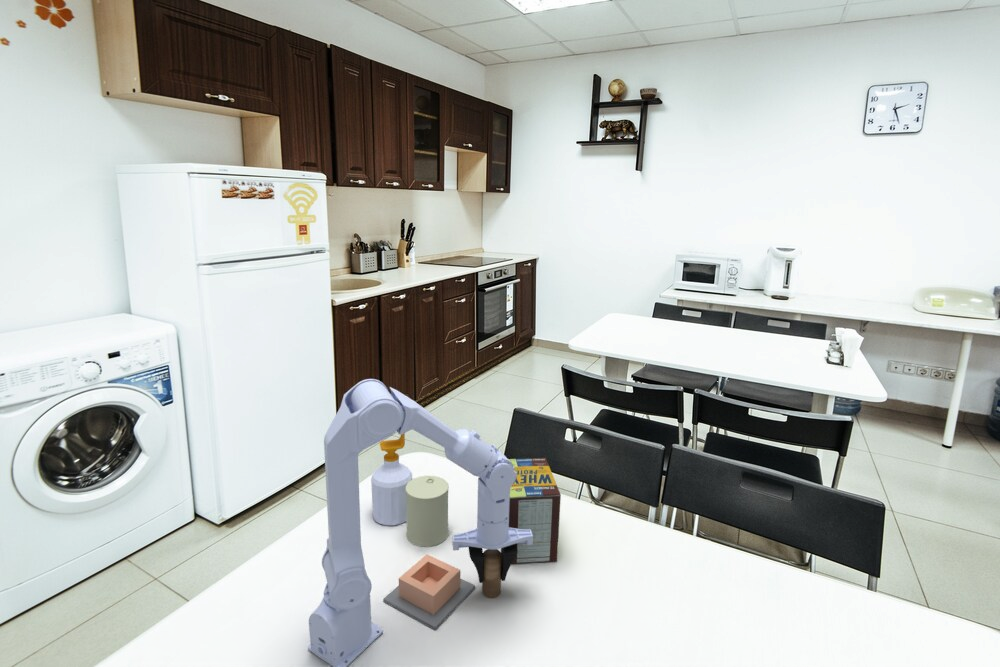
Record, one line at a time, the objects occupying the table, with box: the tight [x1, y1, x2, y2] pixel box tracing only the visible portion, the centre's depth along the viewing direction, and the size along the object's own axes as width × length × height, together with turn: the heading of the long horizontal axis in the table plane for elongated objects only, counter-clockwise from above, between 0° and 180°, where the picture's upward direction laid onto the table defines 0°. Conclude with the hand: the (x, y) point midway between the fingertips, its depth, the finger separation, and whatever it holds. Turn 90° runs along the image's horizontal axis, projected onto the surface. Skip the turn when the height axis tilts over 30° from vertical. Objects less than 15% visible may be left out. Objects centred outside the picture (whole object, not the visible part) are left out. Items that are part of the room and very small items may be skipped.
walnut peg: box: [481, 549, 502, 599], centre depth 99 cm, size 4×4×8 cm
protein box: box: [508, 457, 562, 565], centre depth 114 cm, size 10×15×16 cm
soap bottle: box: [370, 433, 413, 526], centre depth 120 cm, size 9×9×25 cm
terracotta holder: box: [382, 553, 476, 631], centre depth 99 cm, size 12×12×4 cm
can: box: [405, 475, 450, 548], centre depth 115 cm, size 9×9×12 cm
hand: (491, 578), depth 100 cm, fingers closed on walnut peg, 3 cm apart
